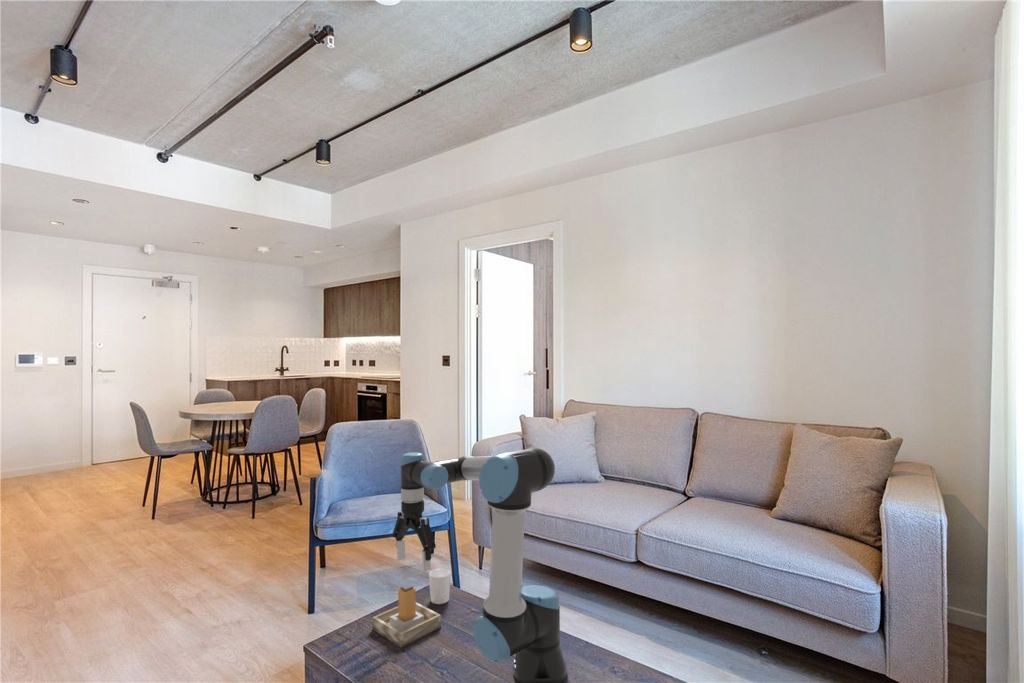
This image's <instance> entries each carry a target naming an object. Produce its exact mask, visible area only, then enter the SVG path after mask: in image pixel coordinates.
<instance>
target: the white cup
mask: <svg viewBox="0 0 1024 683" xmlns="http://www.w3.org/2000/svg"><path fill="white" fill-rule="evenodd" d="M451 573H452V572H451V571H450V569H447V568H434V569H432V570H430V571H429V574H428V578H429V581H428V582H429V593H430V603H432V604H435V605H442V604H443V605H444V604H446V603H447V602H449V601H450V592H451Z"/></svg>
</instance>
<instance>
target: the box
mask: <svg viewBox="0 0 1024 683" xmlns="http://www.w3.org/2000/svg"><path fill="white" fill-rule="evenodd" d="M416 612H418V613H420V614H422V615H424V622H422V623H420V624H418V625H416V626H414V627H412V628H409V629H407V630H405V631H403V632H401V631H399V630H397V629H396V628H394V627H392V626H391V625H390V616H392V615H395V614H397V613H398V606H394V607H393V608H391V609H388V610H386V611H384V612H381V613H379V614H377V615H375V616H372V618H371V620H372V622H371V625H372V631H374V632H376V633H377V634H379V635H381V636H382V637H384V638H385V639H386V640H388V641H390V642H391V643H393V644H395V645H396V646H398V648H404V647H406V646H408V645H409V644H411V643H413V642H416V641H417V640H419V639H422V638H423V637H425V636H427V635H429V634H431V633H432V632H434V631H436V630H438V629H440V628H441V627H442V615H441V614H439V612H436V611H434V610H432V609H430V608H429V607H427V606H425V605H423V604H421V603H419V602H417V601H416Z"/></svg>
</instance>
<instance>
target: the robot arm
mask: <svg viewBox="0 0 1024 683" xmlns="http://www.w3.org/2000/svg"><path fill="white" fill-rule="evenodd" d="M424 458H425V457H424V454H423V453H422V452H415V451H413V452H407V453H404V454H402V455H401V458H400V486H401V487H400V500H401V502H400V504H401V505H400V506H401V508H400V509H401V511H398V512H397V516H396V517H397V518H396V521H395V525H394V528H393V531H392V535H391V536H392V538H394V540H396V557H397V558H396V560H397V561H398V562H400V561H402V560H406V539H405V538H406V537H405V536H406V534H407V532H408V530H409V529H411V530H413V531H414V532H415V533H416V536H417V537H418V539H419V542H420V543H421V546H422V548H423V549H422V552H421V554H422V556H421V558H422V561H421V562H422V572H426V571H429V570H431V567H432V566H431V563H432V562H431V560H432V550H434V549H435V548H437V546H436V542H435V538H434V535H433V533H432V529H431V526H430V518H429V517H428V516H427V517H423V512H424V511H425V500H424V498H425V490H424V489H425V488H426V489H430V490H440V489H442V488H443V487H445V485H447V484H451V483H455V482H462V481H463V482H464V481H478V484H479V489H480V490H481V494H482V496H483V498H484V499H485V500H486V501H487V503H486V504H487V506H489V508H491V509H492V521H491V543H490V544H491V546H490V547H491V548H490V568H489V570H490V571H489V588H488V589H489V590H488V592H489V593H488V596H487V597H486V598H484V601H483V602H482V615H479V616H477V618H476V619H475V620H474V621H473V624H472V634H473V637H474V643H475V644H476V646H477V648H478V650H479V652H480V653H481V655H482V657H484V658H485V659H486V660H488V661H489V662H492V663H501V662H503V661H505V660H509V659H510V658H511V657H512V656H514V655H515V657H514V660H513V663H512V664H513V665H512V673H513V677H514V678H515V679H516V681H517V682H518V683H562V682H564V681H565V680H566V676H567V663H566V659H565V658H564V655H563V652H562V651H563V650H562V648H561V642H560V641H561V637H560V636H561V630H560V629H561V627H560V626H561V625H560V624H561V622H560V620H561V619H560V618H561V615H560V613H561V612H560V611H561V610H560V609H561V606H560V598H559V595H558V593H557V592H556V591H555V590H554V589H552V588H551V587H548V586H543V585H537V584H528V585H524V586H522V584H523V583H522V582H523V562H524V561H523V560H524V558H523V557H524V542H525V540H524V539H525V522H526V521H525V520H526V519H525V517H526V511H527V510H528V509H529V508H530V507H531V506H532V495H533V494H532V493H535V492H540V491H542V490H544V489H545V488H547V487H548V486H549V485H551V483H552V481H553V479H554V477H555V473H556V472H555V471H556V467H555V462H554V460H553V458H552V456H551V455H550V454H549V453H548V452H547V451H545V450H543V449H541V448H536V447H532V448H531V447H530V448H526V449H520V450H515V451H510V452H501V453H498V454H495V455H484V456H473V455H465V456H461V457H456V458H451V459H445V460H440V461H434V462H433V461H432V462H427V461H425V459H424Z"/></svg>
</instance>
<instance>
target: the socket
mask: <svg viewBox="0 0 1024 683" xmlns="http://www.w3.org/2000/svg"><path fill="white" fill-rule="evenodd" d="M422 622H424V615H422V614H420V613H418V612H416V617H415V618H413V619H410V620H408V621H406V622H404V621H402V620H400V619H399V618H398V613H397V614H395V615H392V616H390V625H391V626H392V627H394V628H396V629H397V630H399V631H401V632H403V631H405V630H407V629H409V628H412V627H414V626H416V625H418V624H420V623H422Z"/></svg>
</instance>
